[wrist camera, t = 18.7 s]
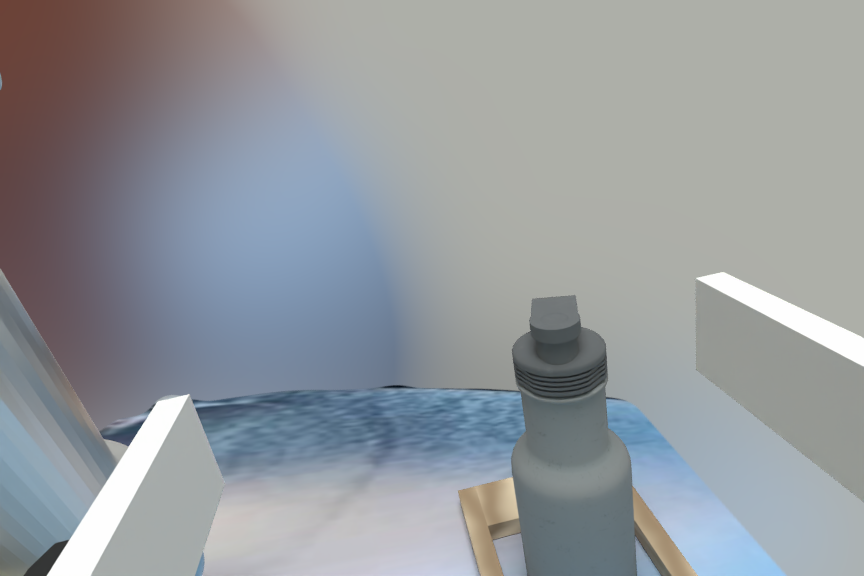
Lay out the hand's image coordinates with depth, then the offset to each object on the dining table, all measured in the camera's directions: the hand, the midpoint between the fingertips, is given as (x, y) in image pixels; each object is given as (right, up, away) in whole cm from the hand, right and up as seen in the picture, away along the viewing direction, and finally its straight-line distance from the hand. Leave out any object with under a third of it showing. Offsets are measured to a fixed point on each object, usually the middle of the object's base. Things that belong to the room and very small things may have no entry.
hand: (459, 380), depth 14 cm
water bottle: (+13, -25, +36) cm, 46 cm away
